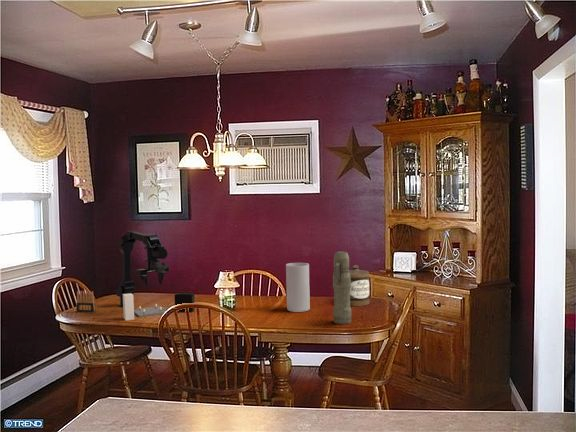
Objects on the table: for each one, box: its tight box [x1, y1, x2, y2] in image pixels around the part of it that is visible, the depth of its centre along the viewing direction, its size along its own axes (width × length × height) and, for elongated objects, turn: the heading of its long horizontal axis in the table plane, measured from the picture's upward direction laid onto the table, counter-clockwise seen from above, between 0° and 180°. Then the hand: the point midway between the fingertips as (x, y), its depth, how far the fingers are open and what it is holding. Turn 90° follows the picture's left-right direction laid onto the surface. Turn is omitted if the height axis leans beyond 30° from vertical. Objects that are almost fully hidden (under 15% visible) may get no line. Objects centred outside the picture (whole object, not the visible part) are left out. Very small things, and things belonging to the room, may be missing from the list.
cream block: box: [122, 294, 135, 321], centre depth 303 cm, size 4×4×13 cm
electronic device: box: [174, 292, 196, 313], centre depth 318 cm, size 4×10×10 cm, turn 78°
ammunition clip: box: [76, 290, 96, 313], centre depth 323 cm, size 11×2×12 cm, turn 78°
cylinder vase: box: [285, 262, 311, 313], centre depth 315 cm, size 12×12×25 cm
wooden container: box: [349, 264, 370, 307], centre depth 328 cm, size 15×15×22 cm
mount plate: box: [134, 303, 167, 318], centre depth 318 cm, size 16×16×3 cm
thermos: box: [332, 250, 352, 325], centre depth 286 cm, size 9×12×35 cm
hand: (153, 286), depth 316 cm, fingers open, 9 cm apart
